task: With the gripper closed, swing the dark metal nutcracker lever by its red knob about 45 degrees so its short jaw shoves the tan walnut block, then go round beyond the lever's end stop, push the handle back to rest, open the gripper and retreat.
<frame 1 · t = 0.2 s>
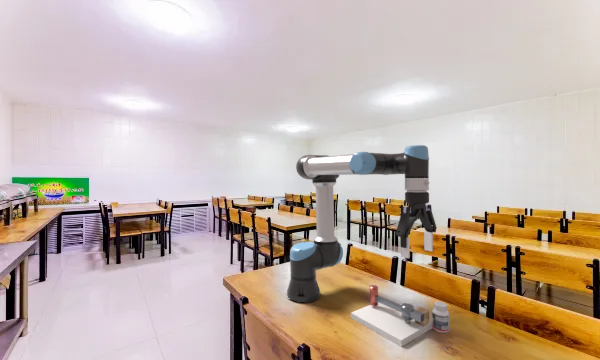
hand: (417, 253, 92), 27 cm above the table, fingers open, 13 cm apart
lever: (394, 304, 101), point 6 cm above the table, hinge at 0.0°
walnut block: (421, 322, 96), point 2 cm above the table, touching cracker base
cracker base: (389, 322, 100), on the table
pill bottle: (440, 329, 96), on the table
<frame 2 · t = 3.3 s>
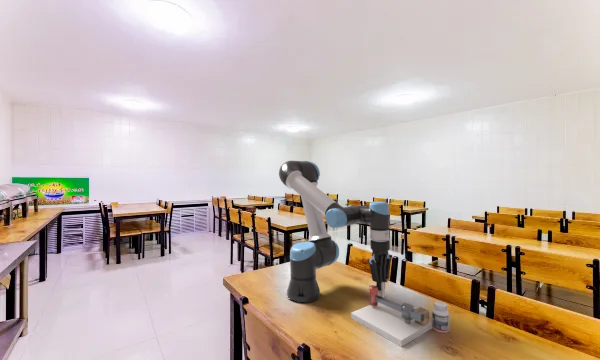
hand: (381, 297, 111), 5 cm above the table, fingers closed
lever: (394, 304, 101), point 6 cm above the table, hinge at 0.4°, touching gripper
everything else where it was.
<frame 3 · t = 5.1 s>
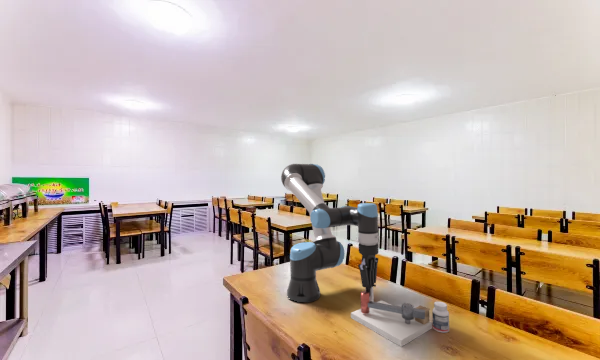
hand: (369, 303, 106), 4 cm above the table, fingers closed
lever: (391, 307, 99), point 6 cm above the table, hinge at 29.3°, touching gripper
walnut block: (422, 321, 97), point 2 cm above the table, touching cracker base
everything else where it was.
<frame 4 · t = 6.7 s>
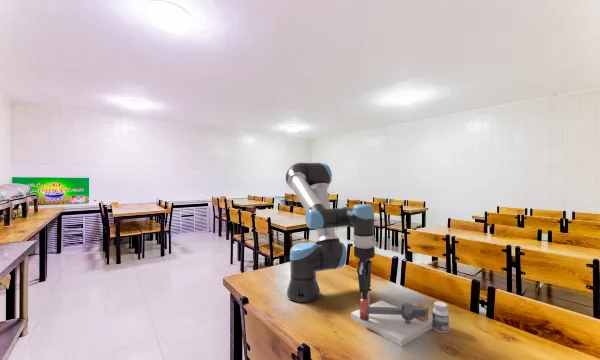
hand: (365, 308, 102), 4 cm above the table, fingers closed
lever: (391, 309, 97), point 6 cm above the table, hinge at 49.7°, touching gripper, walnut block
walnut block: (421, 318, 99), point 2 cm above the table, touching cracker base, lever
everything else where it was.
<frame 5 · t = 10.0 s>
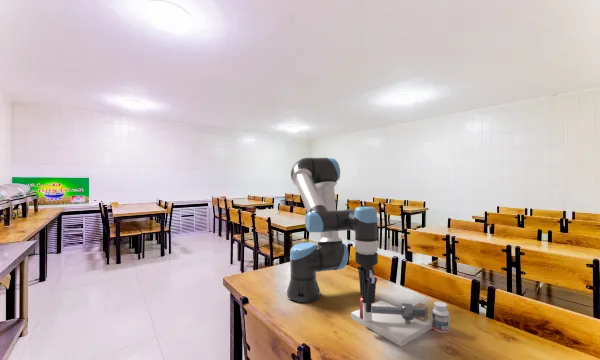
hand: (367, 319, 94), 4 cm above the table, fingers closed
lever: (391, 309, 97), point 6 cm above the table, hinge at 46.9°, touching gripper
walnut block: (420, 318, 99), point 2 cm above the table, touching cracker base
everything else where it was.
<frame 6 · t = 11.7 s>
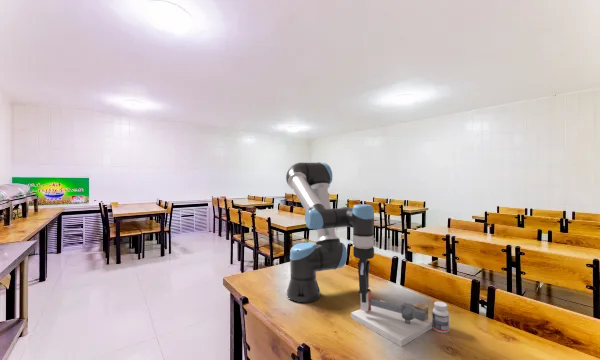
hand: (364, 309, 101), 5 cm above the table, fingers closed
lever: (391, 306, 99), point 6 cm above the table, hinge at 20.2°, touching gripper
everything else where it was.
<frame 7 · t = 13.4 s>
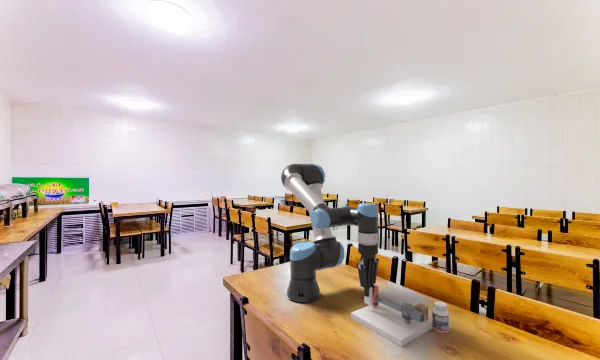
hand: (368, 303, 106), 4 cm above the table, fingers closed
lever: (394, 304, 101), point 6 cm above the table, hinge at -1.1°, touching gripper
everything else where it was.
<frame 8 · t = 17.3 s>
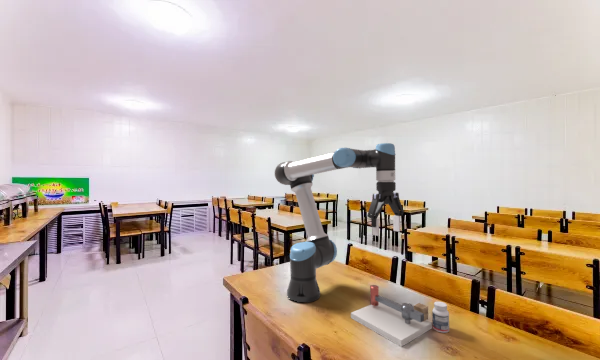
hand: (386, 233, 112), 31 cm above the table, fingers open, 13 cm apart
lever: (394, 304, 101), point 6 cm above the table, hinge at -1.1°
everything else where it was.
at the end: lever at -1° (first picture: +0°); walnut block moved 3.1 cm from its start; the gripper is holding nothing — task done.
